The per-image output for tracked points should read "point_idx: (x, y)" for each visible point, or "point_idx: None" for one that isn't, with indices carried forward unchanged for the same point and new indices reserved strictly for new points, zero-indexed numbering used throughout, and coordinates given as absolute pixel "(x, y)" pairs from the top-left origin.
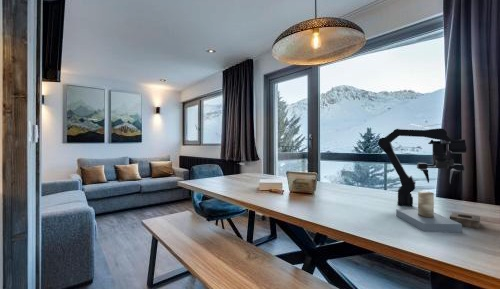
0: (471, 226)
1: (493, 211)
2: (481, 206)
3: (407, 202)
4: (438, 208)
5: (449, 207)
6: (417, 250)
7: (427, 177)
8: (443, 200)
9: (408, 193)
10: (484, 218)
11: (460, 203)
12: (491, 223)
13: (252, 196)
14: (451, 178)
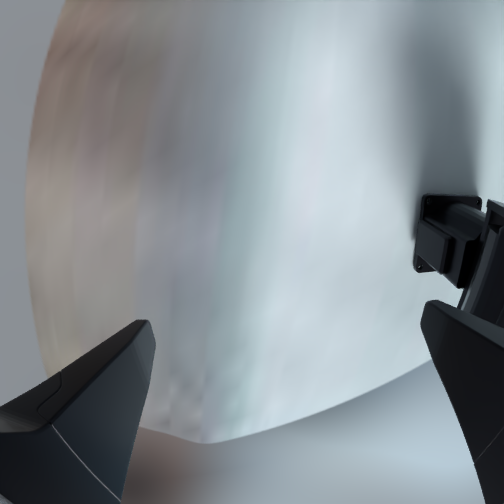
0: None
1: (34, 292)
2: None
3: (453, 208)
4: (272, 225)
5: (202, 288)
6: None
7: (494, 330)
8: (218, 420)
9: (499, 203)
10: (67, 101)
11: (150, 393)
12: (68, 19)
13: None
14: (100, 367)
